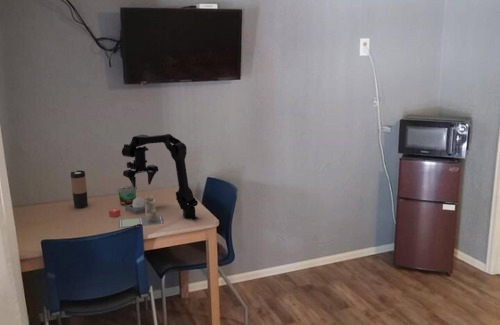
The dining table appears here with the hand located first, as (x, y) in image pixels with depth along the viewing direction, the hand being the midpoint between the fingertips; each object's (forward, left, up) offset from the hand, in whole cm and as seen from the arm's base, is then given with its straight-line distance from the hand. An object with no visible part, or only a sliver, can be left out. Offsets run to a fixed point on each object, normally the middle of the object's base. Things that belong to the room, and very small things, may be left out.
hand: (141, 186), depth 256 cm
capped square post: (-19, +8, -13) cm, 24 cm away
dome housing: (0, +3, -14) cm, 14 cm away
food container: (+15, -1, -14) cm, 20 cm away
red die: (+1, +17, -14) cm, 22 cm away
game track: (-17, +12, -14) cm, 25 cm away
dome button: (0, +3, -12) cm, 12 cm away
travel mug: (+31, +21, -14) cm, 40 cm away
